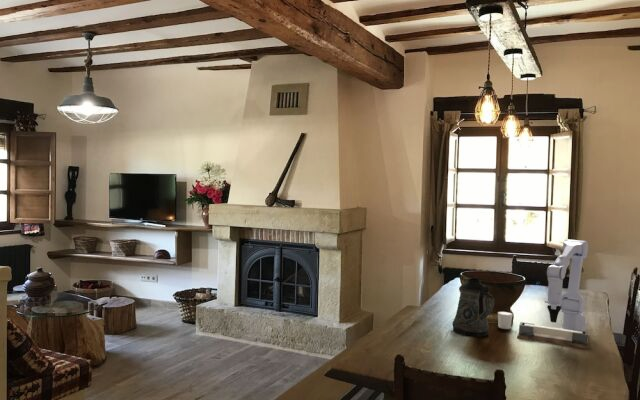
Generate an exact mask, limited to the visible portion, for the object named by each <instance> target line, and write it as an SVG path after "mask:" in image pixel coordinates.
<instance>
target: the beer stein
mask: <svg viewBox="0 0 640 400" xmlns="http://www.w3.org/2000/svg"><path fill="white" fill-rule="evenodd" d="M458 290H459V291H458V292H459V294H460V295H459V298H458V299H459V300H458V303H457V304H458V305H457V310H456V313H455V317H454V319H453V320H452V324H451V325H452V330H453V332H454V333H455V334H457V335H460V336H465V337H471V338H484V337H486V336H487V335H489V330H490V326H489V323H488V317H489V316H490V314H491V313H492V312H493V310H494V306H495V299H494V296H493V294H492V293H491V292H489V287H488V286H487V285H486V284H483V283H481V280H480V279H479V278H474V277H473V278H472V277H471V278H468V280H467V281H466V282H465V283H462V284H461V285H460V286H459V287H458ZM486 302H487V303H486ZM486 304H487V306H486Z"/></svg>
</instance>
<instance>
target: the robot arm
mask: <svg viewBox="0 0 640 400" xmlns="http://www.w3.org/2000/svg"><path fill="white" fill-rule="evenodd" d="M562 248H563V251H562V254H561V255H558V256H557V258H556V259H555V260H554V262H553V263H552V264H551V265H548V267H547V270H546V276H547V282H548V286H547V287H548V289H547V300H544V303H547V304H548V305H547V306H546V307H547V310H548V312H549V319H550V322H551V323H557V320H558V315H559V313H560V311H561V312H562V327H559V328H560V329H567V330H580V331H586V316H585V314H583V313H584V311H585V297H583V296H582V295H581V294H580V293H579V292H580V285H581V278H582V277H581V276H582V270H583V269H582V268H583V261H584V260H585V259H587V258H588V253H589V243H588V242H587V240H578V239H577V240H576V239H568V238H566V239H564V241H563V245H562ZM570 259H571V260H570ZM570 262H571V264H570ZM569 265H570V270H569V271H570V272H569V280H568V286H567V291H566V292H564V293H563V283H564V282H563V281H564V279H565V277H566V274H567V268H568V267H569Z"/></svg>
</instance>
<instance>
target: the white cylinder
mask: <svg viewBox="0 0 640 400" xmlns="http://www.w3.org/2000/svg"><path fill="white" fill-rule="evenodd" d="M512 320H513V313H511V312H508V311H498V312H497V322H498V323H497V325H498V328H499V329H503V330H510V329H511V327H512Z"/></svg>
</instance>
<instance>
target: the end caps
mask: <svg viewBox="0 0 640 400" xmlns="http://www.w3.org/2000/svg"><path fill="white" fill-rule="evenodd" d="M524 324H532V325H535V323H528V322H522V321H520V323H519V326H518V333H519V335H523V336H530V337H533V335H534V333H533V328H534V327H533V326H526V325H524ZM574 331H580V330H574ZM581 332H583V334H581V333H574V332H573V333H572V343H576V344H582V345H587V341H589V339H588V338H589V337H588V331H586V330H585V331H581Z"/></svg>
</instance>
